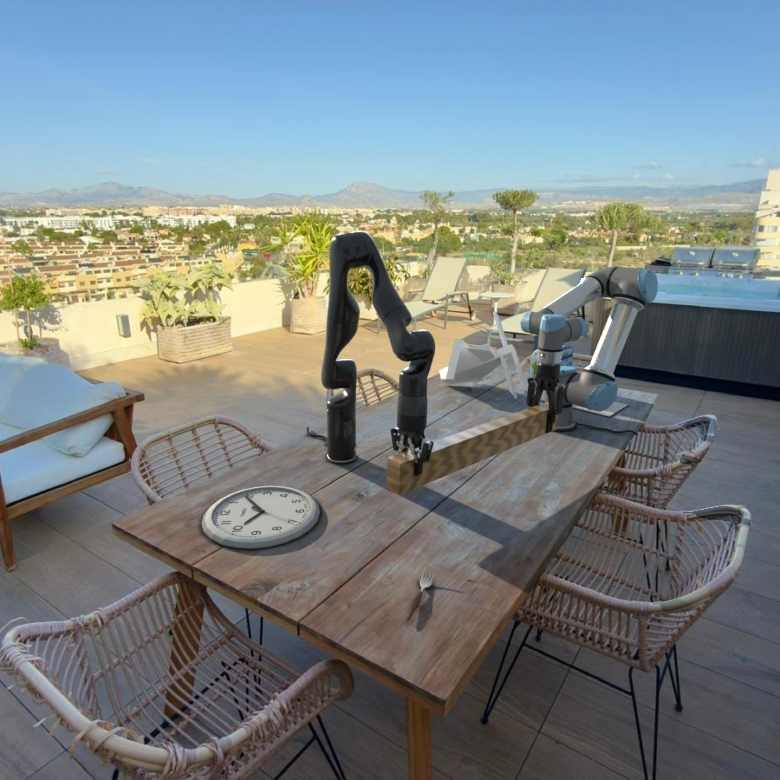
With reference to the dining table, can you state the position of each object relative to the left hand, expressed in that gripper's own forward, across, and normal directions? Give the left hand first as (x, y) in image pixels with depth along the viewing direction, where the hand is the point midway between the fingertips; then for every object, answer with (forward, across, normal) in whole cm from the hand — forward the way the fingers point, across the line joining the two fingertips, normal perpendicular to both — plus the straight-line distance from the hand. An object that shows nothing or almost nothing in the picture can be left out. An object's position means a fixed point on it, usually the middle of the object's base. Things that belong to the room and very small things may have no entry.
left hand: (410, 470), depth 136 cm
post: (+4, 0, +30) cm, 31 cm away
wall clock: (+12, -23, -31) cm, 41 cm away
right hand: (+4, 0, +61) cm, 61 cm away
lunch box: (+13, -41, +130) cm, 137 cm away
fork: (+12, +26, -21) cm, 36 cm away
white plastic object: (+13, -57, +99) cm, 115 cm away
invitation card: (+13, -11, +124) cm, 125 cm away
